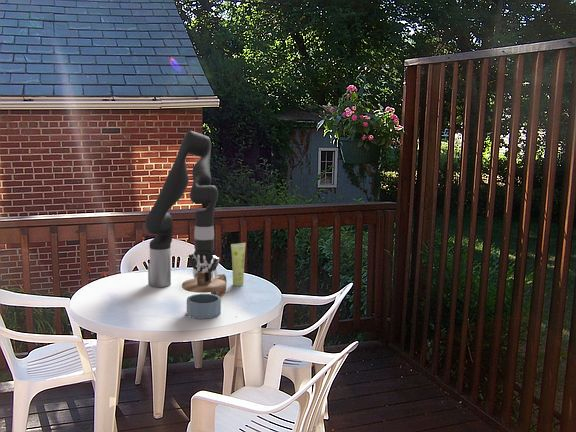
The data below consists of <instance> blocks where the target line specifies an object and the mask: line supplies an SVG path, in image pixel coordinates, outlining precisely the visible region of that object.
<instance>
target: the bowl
mask: <svg viewBox="0 0 576 432" xmlns="http://www.w3.org/2000/svg"><path fill="white" fill-rule="evenodd" d="M221 311H222V296H221V297H219V296H218V295H214V294H211V293H197V294H192V295H190V296H188V297H186V314H187V316H188V317H190V318H192V319H197V320H209V319H210V320H211V319H214V318H217V317H219V316H220V315H221Z"/></svg>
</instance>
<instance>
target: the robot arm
mask: <svg viewBox="0 0 576 432" xmlns="http://www.w3.org/2000/svg"><path fill="white" fill-rule="evenodd" d="M177 152H178V153H177V155H176V157H175V160H174V162H173V165H172V166H171V169H170V170H169V173H168V175H167V177H166V179H165V181H164V183H163V186H162V188H161V190H160V193H159V195H158V196H157V199H156V201H155V203H154V205H153V206H152V207H151V209H150V211H149V213H148V214H147V216H146V217H145V218H146V219H145V222H144V224H145V230H146V232H148V233H149V234H151V235H155V237H154V238H153V239H152V240H150V241H149V263H148V264H147V276H148V277H147V283H148V286H150V287H154V288H165V287H169V286H171V284H172V282H171V281H172V279H171V277H172V273H171V272H172V271H171V270H172V264H171V261H172V260H171V255H172V254H171V247H172V246H171V244H172V242H173V228H174V227H173V225H174V222H173V217H172V215H171V213H169V211H170V209H171V208H172V207H173V206H174V205H175V204H176V203H177V202H178V201H179V200H180V199H181V198H182V197H183V195H184V194H185V191H186V189H187V187H188V185H189V182H190V181H189V180H190V179H189V173H188V169H187V164H186V160H187V156H188V155H189V154H190V155H193V156H196V157H200V159H199V160H197V161H196V163H194V165H193V167H192V170H191V171H192V173H191V174H192V186H191V188H190V192H189V198H190V201H191V203H193V204H195V205H205V204H206V206H207V207H205V208H203V209H197V210H196V211H195V213H194V229H193V230H194V233H193V236H194V242H193V243H194V247H193V248H194V252H193V253H191V254H188V258H189V262H190V263H191V266H192V270H193V269H196V270H197V271H198V272H200V271H202V270H203V266H204V267H205V271H206V273H205V282H209V281H210V279H211V272H212V271H214V270H216V269H217V267H218V266H219V263H220V261H221V257H219V256H218V257H217V256H216V254H215V252H214V251H215V229H214V227H215V226H214V219H215V218H214V215H215V214H214V213H215V208H216V204H217V201H218V198H219V190H218V188H217V186H216V185H212V175H211V174H212V173H211V152H212V142H211V139H210V137H209V136H207V135H205V134H202V133H200V132H196V131H193V130H188V131H187V132H186V133H185V135H184V136H183V138H182V142H181V143H180V146H179V149H178V151H177ZM196 258H197V259H196ZM207 263H208V264H207Z"/></svg>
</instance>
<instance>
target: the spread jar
mask: <svg viewBox="0 0 576 432" xmlns="http://www.w3.org/2000/svg"><path fill="white" fill-rule="evenodd" d="M196 259H197V258H196ZM207 264H208V263H207ZM203 270H205V267H204V266H203ZM203 270H202V271H203ZM192 273H193V274H192V276H193V279H196V278H197V273H198V271H197V270H196V269H193V268H192ZM213 275H214V278H215V277H216V276H217V275H219V272H218V269H217V268H216V270H214V271H212V272H211V278H213Z"/></svg>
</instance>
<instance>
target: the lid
mask: <svg viewBox="0 0 576 432" xmlns="http://www.w3.org/2000/svg"><path fill="white" fill-rule="evenodd" d="M205 273H206V271H205V270H203V271H200V272H198V273H197V278H196V279H194V278H191V279H190V278H189V279H187V280H184V281H183V282H182V283H181V288H182V289H183V290H184V291H187V292H191V293H197V294H209V293H211V292H216V291H220V290H223V289H225V288H226V289H227V284H226V283H227V281H226V282H225V281H223V280H220V279H215V277H214V278H213V277H212V278H211V279H210V281H209V282H205Z"/></svg>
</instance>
